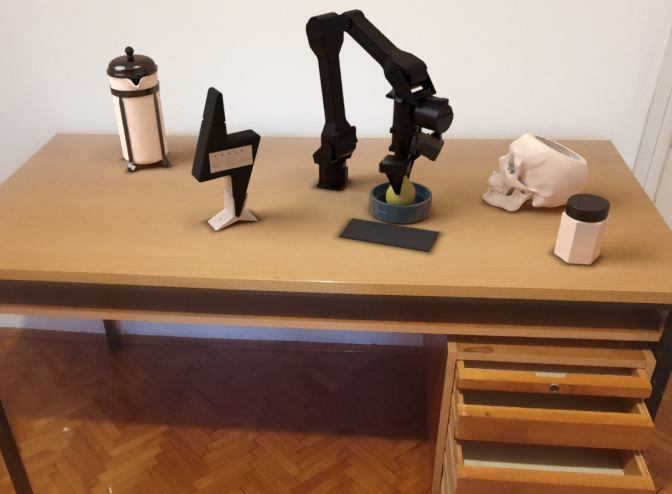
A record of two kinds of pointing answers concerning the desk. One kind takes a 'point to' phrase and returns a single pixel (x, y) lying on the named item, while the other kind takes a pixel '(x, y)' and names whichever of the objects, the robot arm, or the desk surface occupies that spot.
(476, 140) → the desk surface
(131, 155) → the coffee press
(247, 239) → the desk surface
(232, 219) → the award
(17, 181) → the desk surface
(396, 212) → the bowl
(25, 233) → the desk surface
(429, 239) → the place mat
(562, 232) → the jar
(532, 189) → the skull planter
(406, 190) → the fruit
